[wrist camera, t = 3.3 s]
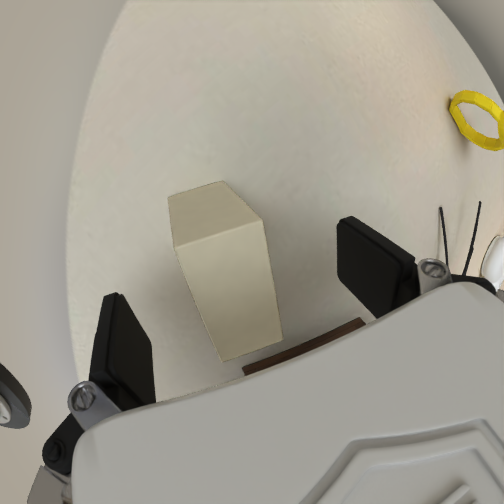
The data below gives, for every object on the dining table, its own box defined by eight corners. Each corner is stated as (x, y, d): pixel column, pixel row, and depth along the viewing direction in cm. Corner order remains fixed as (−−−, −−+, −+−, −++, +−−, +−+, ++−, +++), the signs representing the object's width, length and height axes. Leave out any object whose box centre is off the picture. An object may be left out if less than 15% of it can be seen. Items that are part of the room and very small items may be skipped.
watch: (469, 128, 18) (518, 143, 13) (461, 147, 18) (511, 165, 13) (447, 82, 15) (504, 91, 10) (438, 101, 16) (498, 113, 11)
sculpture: (504, 249, 33) (533, 269, 27) (465, 317, 37) (492, 342, 31) (496, 222, 27) (535, 246, 21) (450, 307, 32) (485, 338, 25)
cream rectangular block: (199, 288, 16) (221, 363, 11) (167, 197, 13) (173, 248, 8) (245, 273, 17) (284, 340, 12) (222, 180, 14) (263, 219, 9)
